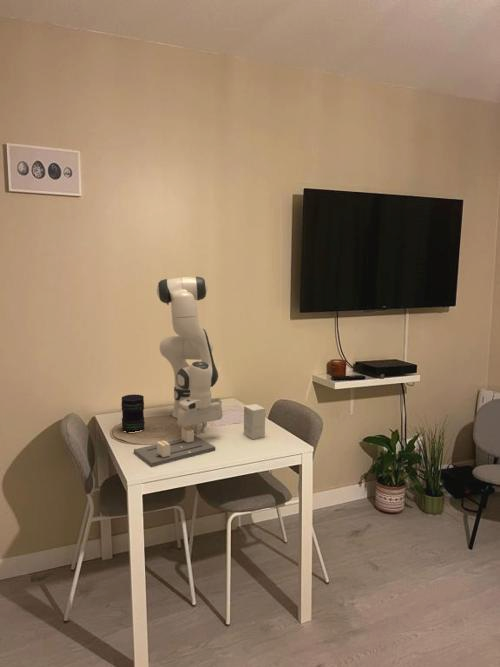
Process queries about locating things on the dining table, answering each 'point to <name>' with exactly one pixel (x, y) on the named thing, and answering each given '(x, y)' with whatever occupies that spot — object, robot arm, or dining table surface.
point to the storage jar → (132, 413)
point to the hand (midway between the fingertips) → (200, 432)
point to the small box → (254, 421)
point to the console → (174, 451)
